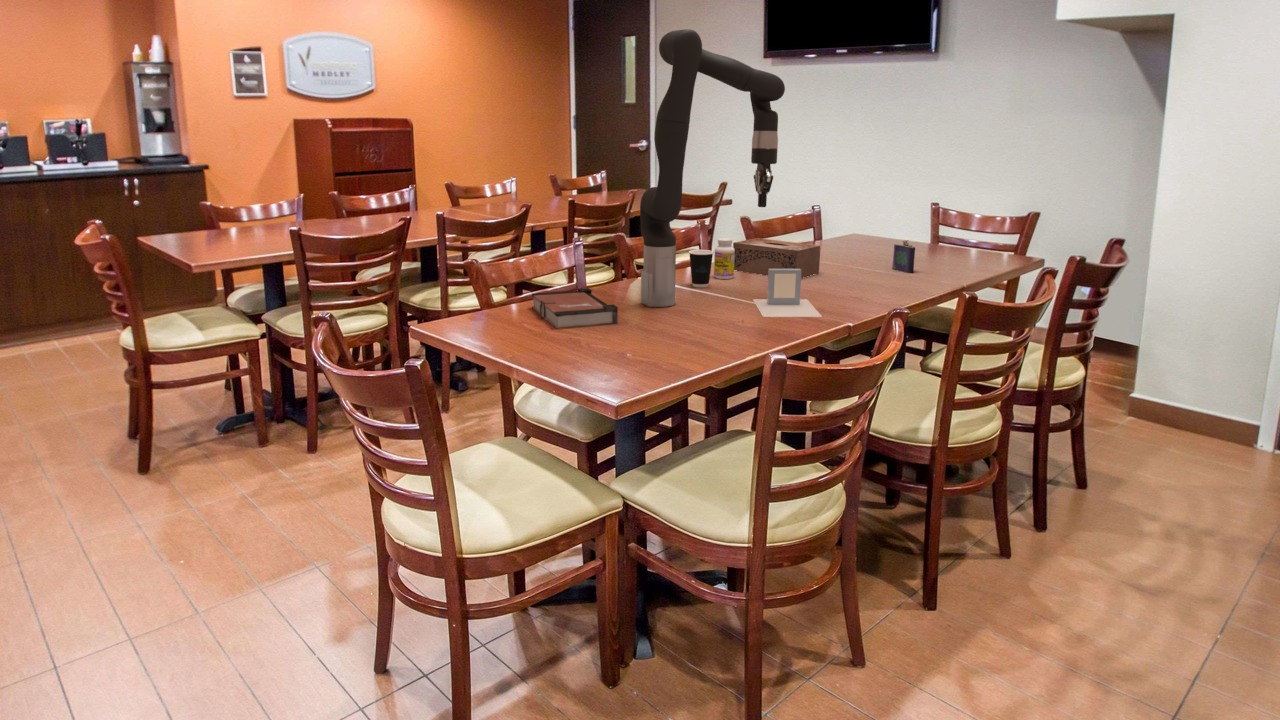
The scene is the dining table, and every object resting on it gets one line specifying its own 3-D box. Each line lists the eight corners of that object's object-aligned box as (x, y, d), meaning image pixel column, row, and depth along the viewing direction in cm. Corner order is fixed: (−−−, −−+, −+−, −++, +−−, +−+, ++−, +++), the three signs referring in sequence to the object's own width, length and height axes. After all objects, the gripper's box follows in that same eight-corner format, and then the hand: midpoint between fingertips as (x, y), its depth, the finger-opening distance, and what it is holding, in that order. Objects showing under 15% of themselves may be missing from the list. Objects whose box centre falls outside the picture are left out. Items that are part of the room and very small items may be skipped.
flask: (890, 269, 313) (893, 238, 310) (896, 268, 314) (899, 238, 311) (909, 273, 305) (912, 242, 302) (915, 272, 307) (918, 241, 304)
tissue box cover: (732, 271, 310) (733, 242, 307) (755, 265, 321) (756, 238, 318) (796, 280, 294) (797, 250, 291) (818, 274, 304) (820, 245, 301)
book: (529, 309, 254) (529, 292, 252) (588, 304, 260) (588, 287, 258) (553, 330, 230) (553, 311, 229) (617, 325, 236) (617, 306, 235)
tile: (766, 302, 258) (768, 268, 255) (798, 302, 258) (799, 268, 255) (768, 304, 255) (769, 270, 253) (799, 304, 255) (801, 270, 253)
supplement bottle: (710, 278, 296) (711, 239, 292) (718, 275, 302) (719, 237, 298) (729, 280, 293) (730, 241, 289) (736, 276, 299) (738, 238, 295)
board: (752, 301, 262) (752, 299, 262) (806, 301, 263) (807, 299, 262) (763, 318, 241) (763, 316, 241) (822, 318, 241) (822, 316, 241)
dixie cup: (701, 282, 289) (701, 248, 286) (718, 286, 284) (719, 251, 280) (682, 285, 285) (683, 251, 282) (699, 289, 279) (700, 254, 276)
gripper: (746, 147, 268) (744, 205, 271) (758, 146, 255) (755, 208, 259) (770, 147, 269) (767, 206, 272) (783, 147, 256) (780, 208, 260)
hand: (761, 207), depth 266 cm, fingers closed
